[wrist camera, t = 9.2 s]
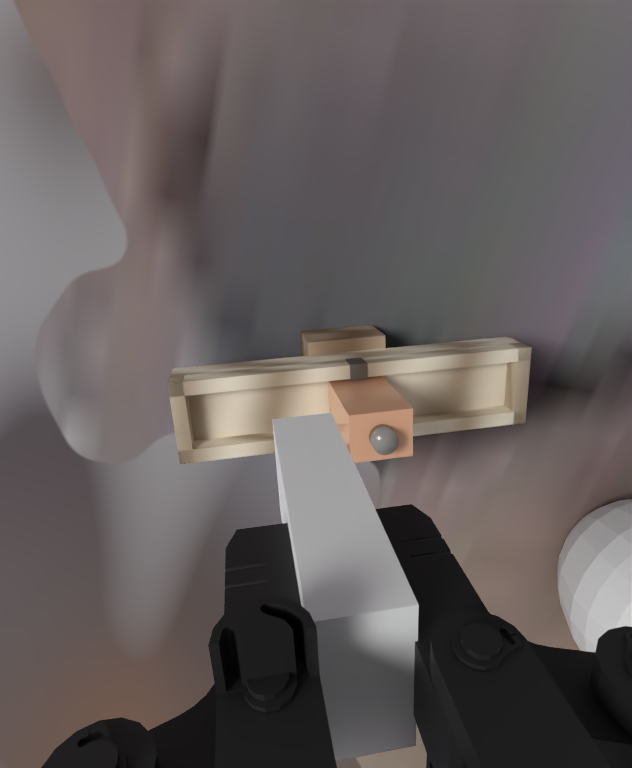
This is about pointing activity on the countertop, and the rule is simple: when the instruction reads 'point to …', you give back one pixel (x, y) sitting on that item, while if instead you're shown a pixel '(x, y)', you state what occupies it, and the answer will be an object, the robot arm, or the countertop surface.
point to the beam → (339, 362)
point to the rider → (371, 418)
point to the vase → (597, 574)
